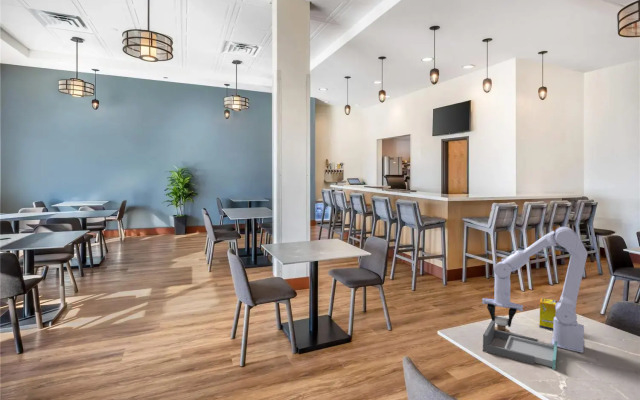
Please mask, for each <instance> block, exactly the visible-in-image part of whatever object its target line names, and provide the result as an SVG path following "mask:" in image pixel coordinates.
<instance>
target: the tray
mask: <svg viewBox="0 0 640 400" xmlns="http://www.w3.org/2000/svg"><path fill="white" fill-rule="evenodd" d="M504 348H505V349H509V350H513V351H517V352H521V353H525V354H529V355H533V356H534V364H535V363H536V364H538V365H543V366H546V367H550V368H552V370H555V371H556V364H557V355H558V347H557V341H555V342H554V346H553V345H551V344H548V343H544V342H540V341H538V342H536V341H532V340H528V339H523V338H519V337H515V336H509V338H508V340H506V343H505V346H504Z"/></svg>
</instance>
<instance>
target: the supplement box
mask: <svg viewBox="0 0 640 400" xmlns="http://www.w3.org/2000/svg"><path fill="white" fill-rule="evenodd" d="M557 302H558V300H555V299H551V298H550V299H549V298H540V300H539V323H538V325H539V328H541V329H546V330H552V331H553V324H554V317H556V310H555V305H556V303H557Z"/></svg>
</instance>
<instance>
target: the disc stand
mask: <svg viewBox="0 0 640 400" xmlns="http://www.w3.org/2000/svg"><path fill="white" fill-rule="evenodd" d="M495 330H499V331H504V332H508V333H511V331H510V330H509V329H508V328H507V326H502V325H498V324H496V326H495Z"/></svg>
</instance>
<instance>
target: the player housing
mask: <svg viewBox="0 0 640 400" xmlns="http://www.w3.org/2000/svg"><path fill="white" fill-rule="evenodd" d="M486 327H487V328H486V329H485V332H483V334H482V335H483V336H482V352H485V353H488V354H493V355H495V356H500V357H504V358H508V359H512V360H515V361H518V362H523V363H525V364H529V365H534V364H535V362H534V356H533V355H529V354H525V353H521V352H517V351H513V350H509V349H505V347H501V346H497V345H494V344H492V342H493V340H494V338H497V339H502V340H505V341H507V340H508V338H509V336H515V337H519V338H523V339H528V340H532V341H536V342H539V341H538V338H534V337H530V336H525V335H521V334H517V333H513V332H512V333H511V332H510V333H508V332H504V331H499V330H495V327H496V323H495V321H492V320H491V321H490V322H489V324H488V326H486Z"/></svg>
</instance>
